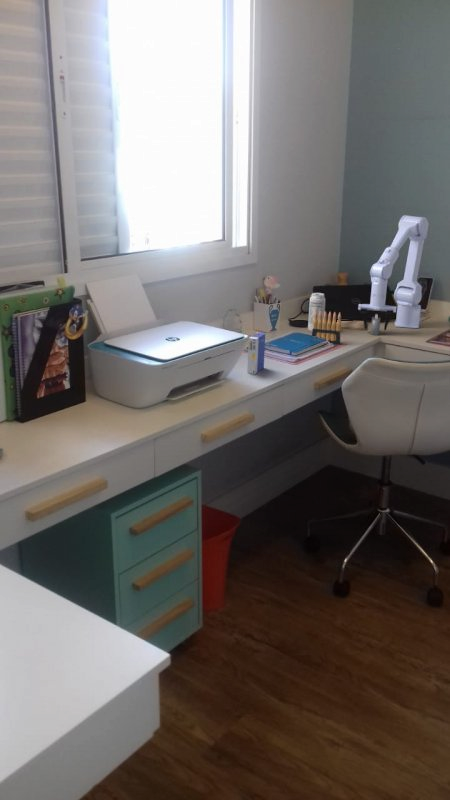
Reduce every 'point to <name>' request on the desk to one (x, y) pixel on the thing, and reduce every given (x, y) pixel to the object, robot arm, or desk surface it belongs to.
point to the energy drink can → (316, 308)
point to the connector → (375, 325)
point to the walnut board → (352, 325)
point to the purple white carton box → (256, 353)
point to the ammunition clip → (329, 331)
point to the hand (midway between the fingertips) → (375, 328)
